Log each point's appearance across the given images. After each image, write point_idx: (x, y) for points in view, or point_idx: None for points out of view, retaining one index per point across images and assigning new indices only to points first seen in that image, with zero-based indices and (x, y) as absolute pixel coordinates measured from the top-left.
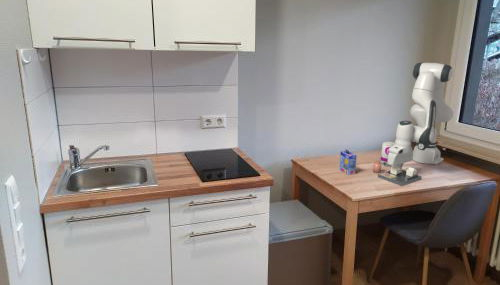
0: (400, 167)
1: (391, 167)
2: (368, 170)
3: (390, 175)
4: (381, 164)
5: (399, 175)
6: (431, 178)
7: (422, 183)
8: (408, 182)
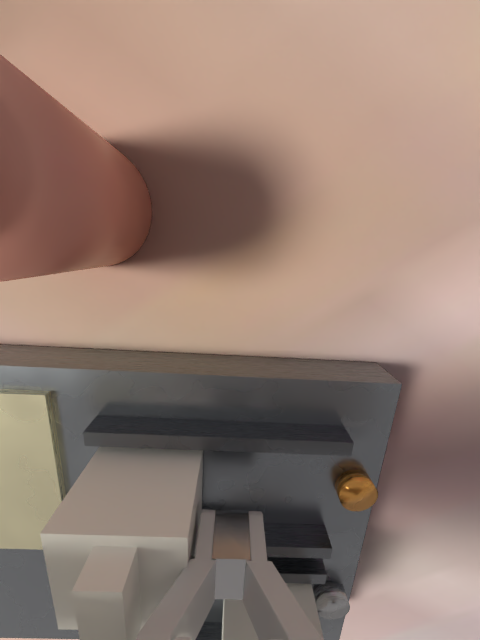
0: (233, 592)
1: (44, 536)
2: (23, 57)
3: (11, 496)
4: (6, 279)
5: None
6: (428, 622)
7: None
8: None
